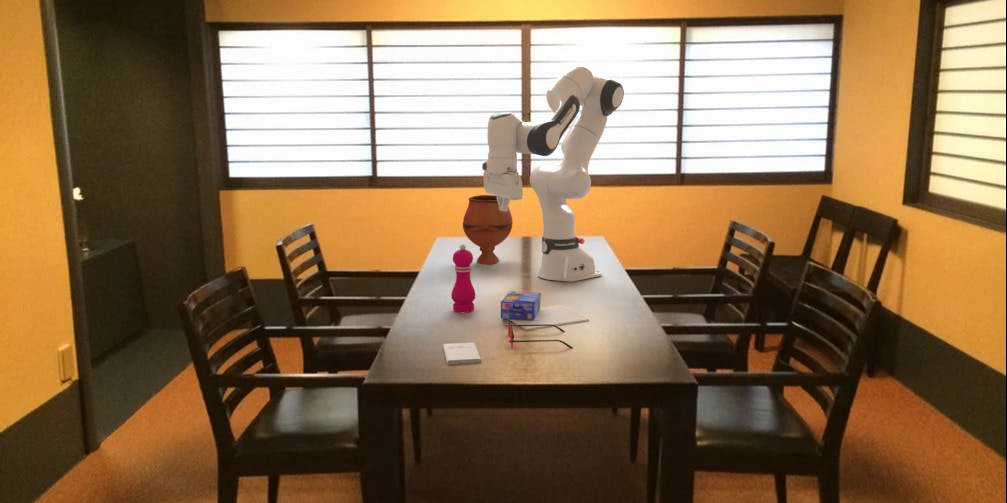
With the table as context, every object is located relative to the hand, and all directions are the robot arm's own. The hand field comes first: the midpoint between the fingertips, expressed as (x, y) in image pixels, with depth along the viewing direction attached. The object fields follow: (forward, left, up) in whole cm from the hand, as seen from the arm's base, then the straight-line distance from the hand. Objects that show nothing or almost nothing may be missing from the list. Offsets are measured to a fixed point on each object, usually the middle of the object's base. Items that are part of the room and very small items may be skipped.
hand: (503, 210), depth 234 cm
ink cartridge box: (0, +15, -25) cm, 29 cm away
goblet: (-16, -49, -28) cm, 59 cm away
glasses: (+10, +42, -29) cm, 51 cm away
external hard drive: (+32, +43, -29) cm, 61 cm away
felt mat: (-1, +25, -28) cm, 37 cm away
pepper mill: (+17, +7, -28) cm, 33 cm away
